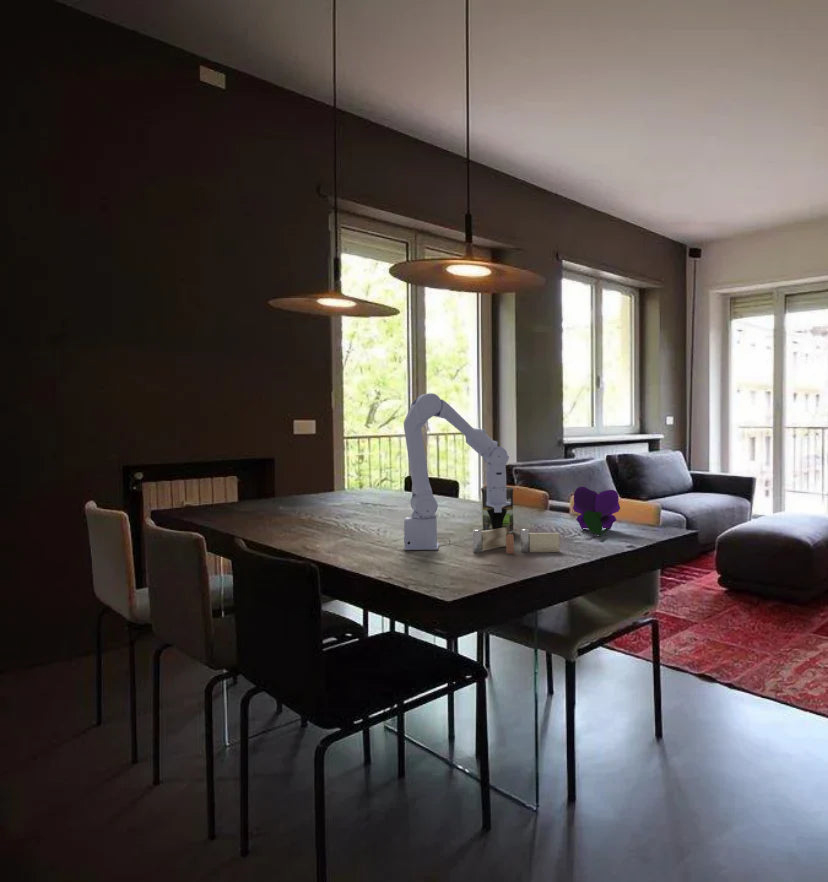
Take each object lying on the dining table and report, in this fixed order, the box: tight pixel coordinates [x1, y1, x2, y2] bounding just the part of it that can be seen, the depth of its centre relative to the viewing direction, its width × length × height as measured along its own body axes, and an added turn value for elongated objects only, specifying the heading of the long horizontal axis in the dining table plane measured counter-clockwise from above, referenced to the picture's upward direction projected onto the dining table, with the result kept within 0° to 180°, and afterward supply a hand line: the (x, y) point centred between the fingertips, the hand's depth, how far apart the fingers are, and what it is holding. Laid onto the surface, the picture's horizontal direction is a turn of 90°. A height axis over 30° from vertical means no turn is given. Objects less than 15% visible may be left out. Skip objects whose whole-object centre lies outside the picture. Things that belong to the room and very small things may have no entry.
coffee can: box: [480, 486, 514, 534], centre depth 205 cm, size 10×10×14 cm
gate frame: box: [472, 528, 560, 554], centre depth 175 cm, size 23×3×6 cm, turn 85°
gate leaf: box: [481, 527, 511, 551], centre depth 180 cm, size 10×2×5 cm, turn 125°
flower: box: [572, 486, 621, 536], centre depth 198 cm, size 15×15×14 cm
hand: (497, 533), depth 187 cm, fingers closed
